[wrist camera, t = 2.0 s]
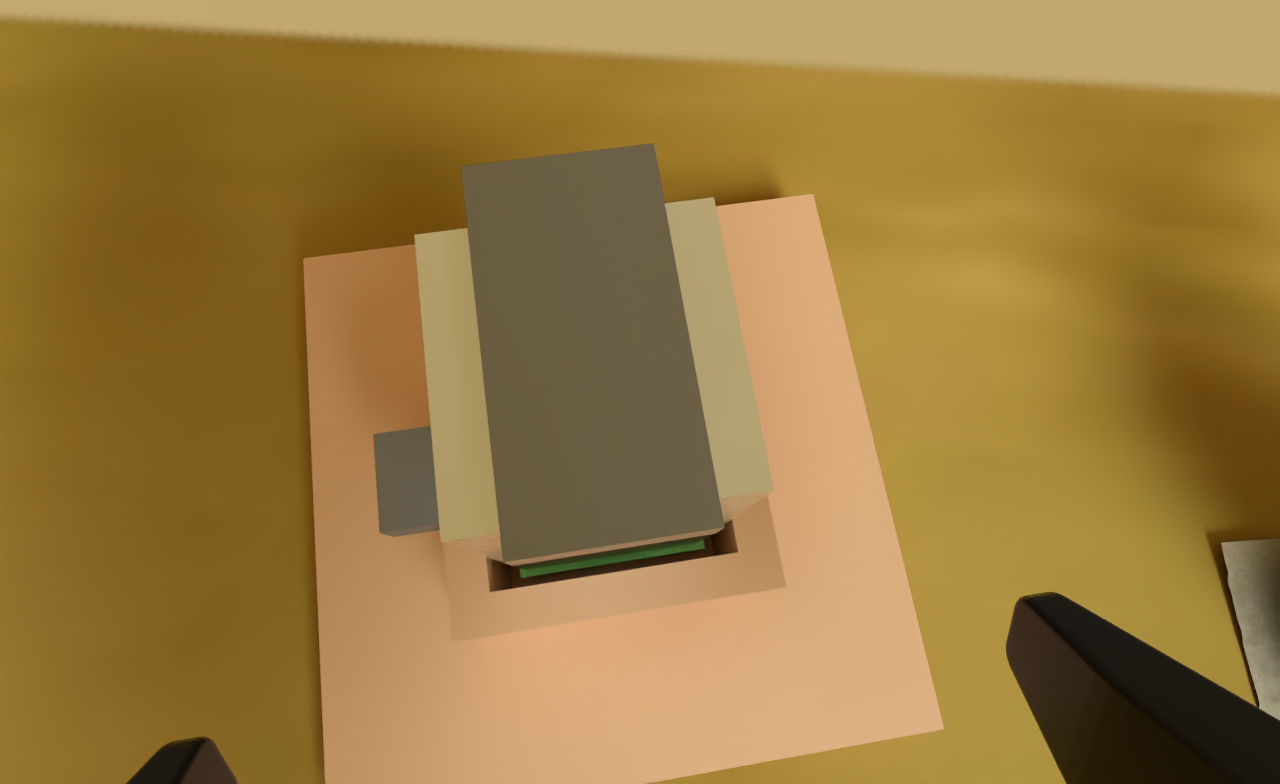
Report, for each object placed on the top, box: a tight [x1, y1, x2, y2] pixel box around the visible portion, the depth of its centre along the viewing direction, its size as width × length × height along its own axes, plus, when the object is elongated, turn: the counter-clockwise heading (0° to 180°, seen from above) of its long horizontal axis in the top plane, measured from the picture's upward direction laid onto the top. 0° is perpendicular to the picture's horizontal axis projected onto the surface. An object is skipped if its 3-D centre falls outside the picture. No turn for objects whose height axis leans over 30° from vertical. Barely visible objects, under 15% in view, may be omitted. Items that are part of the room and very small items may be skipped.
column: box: [414, 143, 774, 579], centre depth 13 cm, size 5×4×10 cm
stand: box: [303, 194, 944, 784], centre depth 18 cm, size 14×14×5 cm
